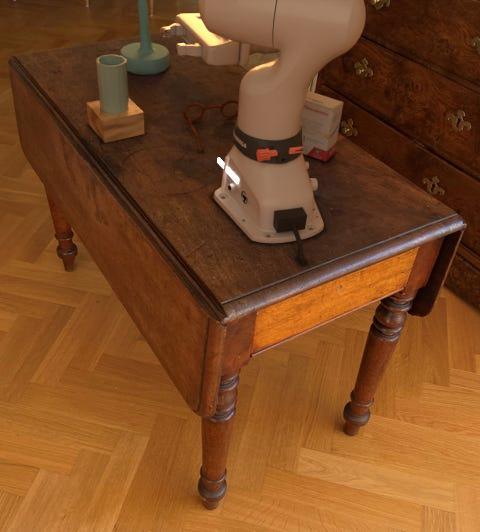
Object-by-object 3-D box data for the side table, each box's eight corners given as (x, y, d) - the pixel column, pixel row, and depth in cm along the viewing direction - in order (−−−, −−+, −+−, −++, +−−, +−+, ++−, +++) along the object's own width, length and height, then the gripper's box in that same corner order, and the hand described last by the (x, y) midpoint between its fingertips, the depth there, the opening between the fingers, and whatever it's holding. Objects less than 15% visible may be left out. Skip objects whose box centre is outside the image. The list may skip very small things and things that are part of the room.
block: (144, 134, 129) (143, 112, 125) (104, 143, 125) (102, 121, 122) (127, 115, 134) (125, 94, 131) (88, 124, 130) (86, 102, 127)
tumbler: (131, 112, 125) (128, 65, 119) (102, 114, 124) (98, 67, 117) (126, 99, 129) (123, 53, 123) (98, 101, 128) (93, 55, 121)
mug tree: (119, 56, 158) (112, -49, 142) (167, 55, 161) (165, -47, 144) (121, 76, 149) (113, -33, 133) (171, 76, 151) (170, -32, 135)
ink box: (335, 153, 128) (345, 101, 120) (325, 162, 125) (334, 110, 117) (300, 140, 131) (307, 88, 123) (289, 149, 128) (295, 96, 120)
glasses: (239, 117, 137) (240, 96, 134) (258, 146, 128) (260, 124, 125) (182, 123, 133) (182, 102, 130) (198, 153, 124) (199, 131, 121)
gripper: (213, 3, 132) (152, 8, 127) (253, 37, 118) (186, 43, 113) (212, 32, 136) (153, 38, 131) (250, 68, 122) (186, 76, 117)
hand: (168, 41), depth 122 cm, fingers open, 8 cm apart
